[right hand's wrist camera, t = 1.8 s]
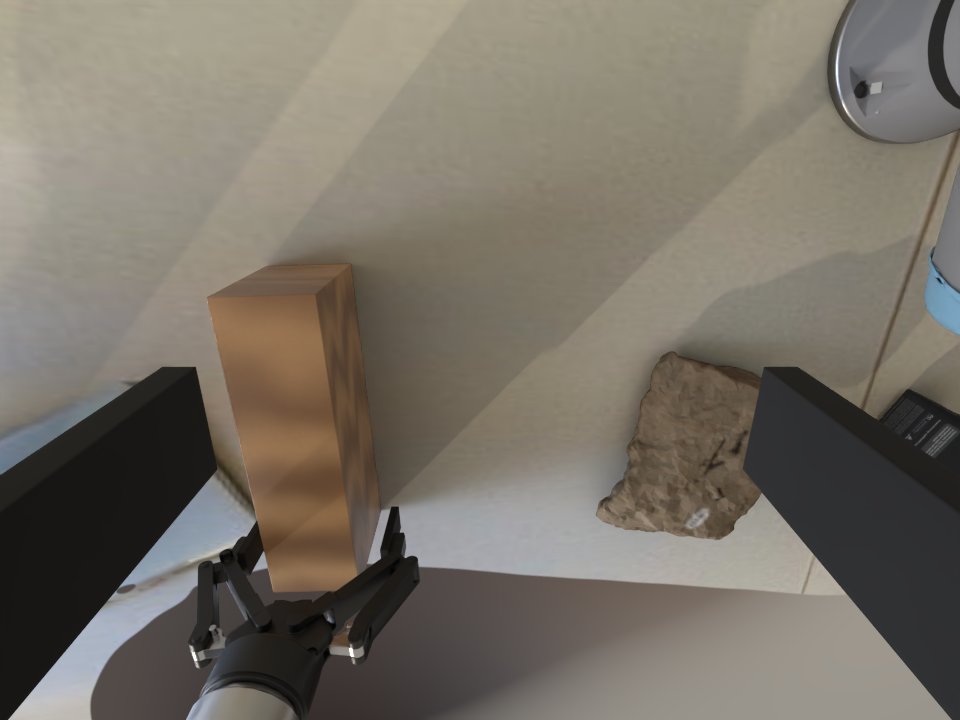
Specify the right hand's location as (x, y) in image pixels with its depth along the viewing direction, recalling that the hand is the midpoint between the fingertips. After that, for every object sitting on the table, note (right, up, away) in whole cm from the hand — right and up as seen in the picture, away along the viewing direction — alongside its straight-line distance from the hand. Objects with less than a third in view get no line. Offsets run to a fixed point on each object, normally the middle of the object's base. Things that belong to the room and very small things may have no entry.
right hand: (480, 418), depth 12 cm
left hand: (-16, -16, +44) cm, 49 cm away
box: (-16, -3, +45) cm, 48 cm away
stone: (+22, -8, +47) cm, 52 cm away
